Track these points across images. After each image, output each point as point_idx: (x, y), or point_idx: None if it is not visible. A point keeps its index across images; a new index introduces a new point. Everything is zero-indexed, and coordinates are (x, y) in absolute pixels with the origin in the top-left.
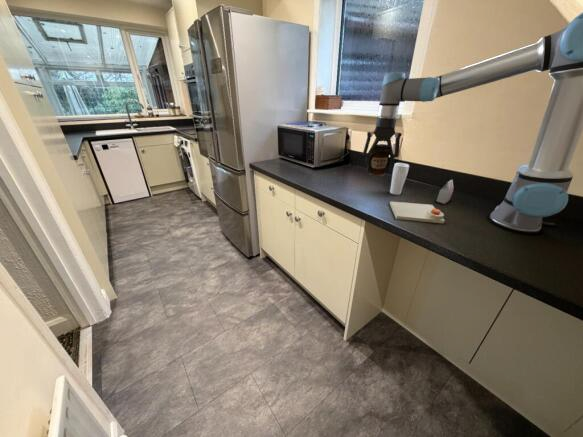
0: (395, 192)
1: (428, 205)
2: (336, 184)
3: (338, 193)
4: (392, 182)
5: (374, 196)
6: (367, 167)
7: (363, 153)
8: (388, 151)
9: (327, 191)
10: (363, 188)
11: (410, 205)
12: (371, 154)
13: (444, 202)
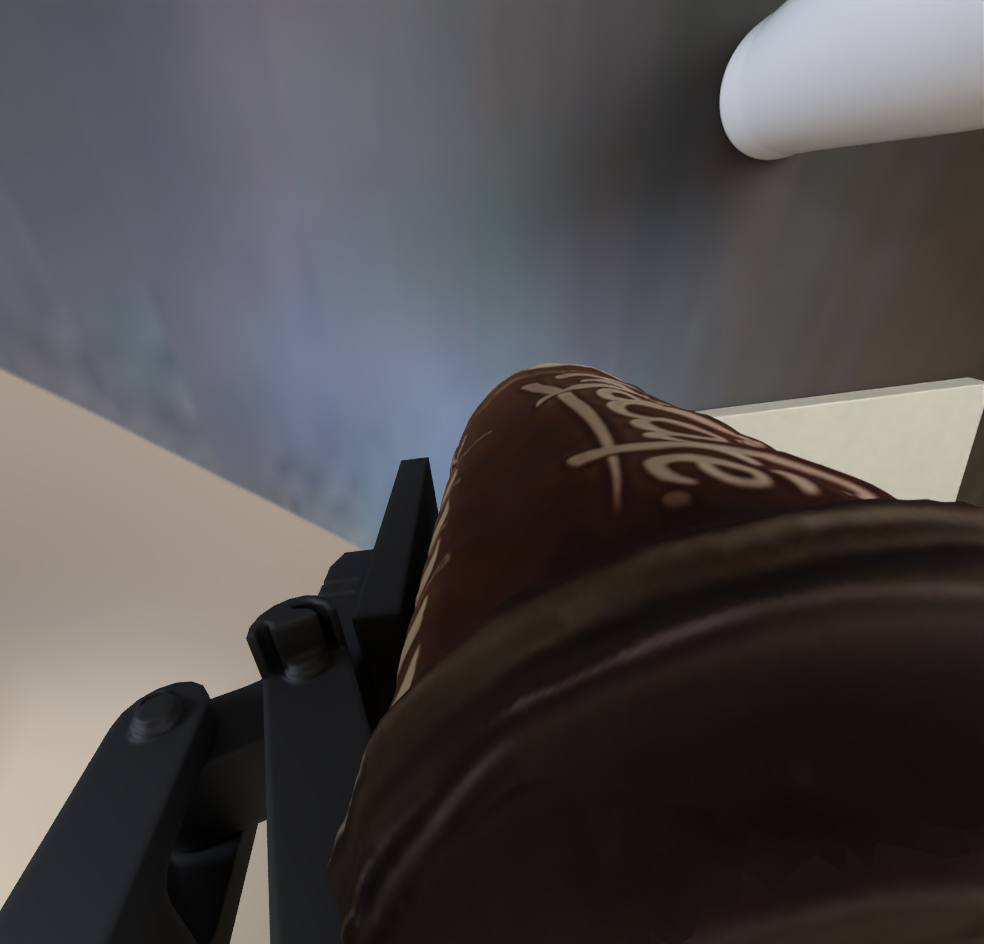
0: (771, 157)
1: (950, 408)
2: None
3: (186, 318)
4: (791, 93)
5: (540, 277)
6: (396, 492)
7: (169, 865)
8: None
9: (56, 299)
10: (413, 26)
11: (803, 455)
12: (401, 662)
13: None
